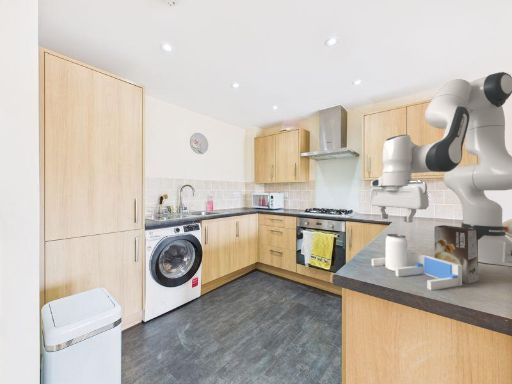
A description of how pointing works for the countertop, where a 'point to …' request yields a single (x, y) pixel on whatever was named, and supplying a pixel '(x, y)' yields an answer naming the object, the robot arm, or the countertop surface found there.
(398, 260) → the can
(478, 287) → the countertop surface
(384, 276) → the countertop surface
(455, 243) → the coffee box
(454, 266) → the white pronged rack
